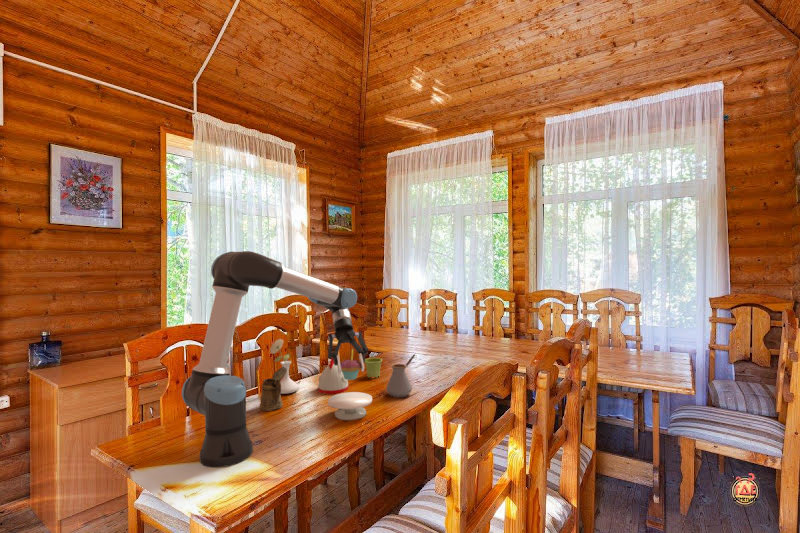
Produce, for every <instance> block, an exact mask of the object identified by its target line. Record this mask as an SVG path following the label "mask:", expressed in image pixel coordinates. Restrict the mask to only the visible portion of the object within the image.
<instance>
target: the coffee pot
mask: <svg viewBox="0 0 800 533" xmlns="http://www.w3.org/2000/svg"><path fill="white" fill-rule="evenodd" d="M415 356H416V354H412V355H411V357H410V358H409V359H408V361H407V362H406V364H401V363H398V364H397V363H396V364H392V365H391V368H392V373H391V375H390V378H389V381H388V382H387V384H386V392H387V394H389V395H390V397H392V396H393V397H392V398H405V397H407V396H408V395H409V394H410V393H411V392H412V390H413V387H412V384H411V382H410V380H409V377H408V375H407V372H406V371H405V370H406V368H407V367H408V366H409V365H410V364H411V362H412V361H413V359H416V357H415Z"/></svg>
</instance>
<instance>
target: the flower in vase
mask: <svg viewBox="0 0 800 533" xmlns="http://www.w3.org/2000/svg"><path fill="white" fill-rule="evenodd" d="M283 344H284V339H281V338H278V339H276V340H275V341H274V343H273V344H271V347H270V349H269V353H270V354H273V355H274V354H276V353H278V352H279V353H280V355H281V356H280V355H279V356H278V357H276V358H275V359H274V362H279V361H280V360H283V361H280V364H281V368H282V367H285V368H286V369H287V371H286V374H285V376H284V377H283V378H282V379H281V380H280V383H281V393H280V394H281V395H284V394H291V393H295V392H296V391H298V390H299V389H300V385H299V384H298V383H296V381H294V380H293V379H291V378H290V375H289V371H290V370H289V369H290V365H291V363H292V361H291V360H288V359H289V358H290V352H289V353H287V354H285V355H284V356H283V354H282V352H281V349H282V347H283Z"/></svg>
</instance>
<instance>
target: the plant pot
mask: <svg viewBox="0 0 800 533" xmlns="http://www.w3.org/2000/svg"><path fill="white" fill-rule="evenodd" d="M382 362H383V359H382V358H380V357H370V358H365V363H364V365H365V370H366V375H367V378H370V377H376V378H379V377H380V374H381V368H382V367H381V366H382ZM378 376H379V377H378Z"/></svg>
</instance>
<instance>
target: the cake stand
mask: <svg viewBox="0 0 800 533" xmlns="http://www.w3.org/2000/svg"><path fill="white" fill-rule="evenodd" d="M372 403H373V396H372V395H371V394H369V393H366V392H359V391H351V392H350V391H349V392H347V391H346V392H342V393H338V394H333V395H331V396H330V397H329V398H328V400H327V404H328V406H329V407H331V408H333V409H337V410H335V411H334V417H335V418H336V419H338V420H341V421H354V420H355V421H357V420H359V419H362V418H364V417H365V416H366V415H367V410H366V408H364V407H367V406H369V405H371V404H372Z"/></svg>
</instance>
